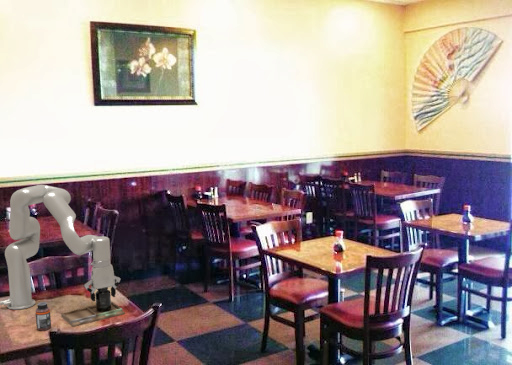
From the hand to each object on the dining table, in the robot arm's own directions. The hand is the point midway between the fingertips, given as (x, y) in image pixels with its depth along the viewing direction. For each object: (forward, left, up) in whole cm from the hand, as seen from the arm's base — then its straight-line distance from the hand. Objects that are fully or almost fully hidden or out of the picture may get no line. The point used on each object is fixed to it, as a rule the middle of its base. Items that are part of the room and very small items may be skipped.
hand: (103, 298), depth 253 cm
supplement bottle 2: (0, 0, -6) cm, 6 cm away
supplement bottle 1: (-28, -2, -7) cm, 29 cm away
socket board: (-6, -1, -6) cm, 9 cm away
